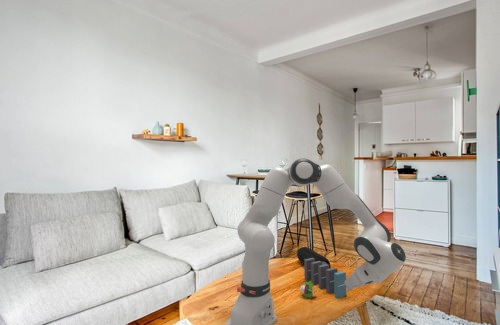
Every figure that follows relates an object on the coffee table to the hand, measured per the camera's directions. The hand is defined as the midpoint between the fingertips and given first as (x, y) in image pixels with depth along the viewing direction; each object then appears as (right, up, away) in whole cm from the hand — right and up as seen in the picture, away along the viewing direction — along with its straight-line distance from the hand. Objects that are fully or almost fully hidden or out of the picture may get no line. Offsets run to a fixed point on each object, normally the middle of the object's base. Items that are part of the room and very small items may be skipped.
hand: (356, 286), depth 125 cm
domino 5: (-4, -8, +8) cm, 12 cm away
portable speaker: (-9, -9, +44) cm, 46 cm away
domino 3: (-9, -8, +18) cm, 22 cm away
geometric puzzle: (-19, -9, +9) cm, 23 cm away
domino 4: (-7, -8, +13) cm, 17 cm away
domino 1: (-15, -8, +27) cm, 32 cm away
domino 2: (-12, -8, +23) cm, 27 cm away
